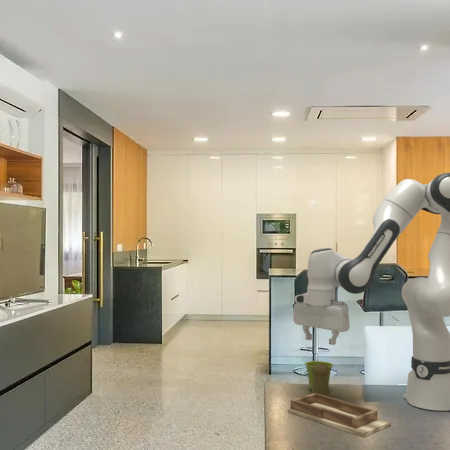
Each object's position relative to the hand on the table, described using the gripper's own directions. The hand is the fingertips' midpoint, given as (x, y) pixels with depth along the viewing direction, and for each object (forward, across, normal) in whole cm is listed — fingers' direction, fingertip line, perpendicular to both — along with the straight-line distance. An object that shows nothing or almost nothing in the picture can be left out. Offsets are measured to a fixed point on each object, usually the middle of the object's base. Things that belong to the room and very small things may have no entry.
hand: (320, 342), depth 174 cm
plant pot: (+18, +7, -8) cm, 21 cm away
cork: (+18, 0, 0) cm, 18 cm away
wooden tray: (+18, -15, +11) cm, 26 cm away
